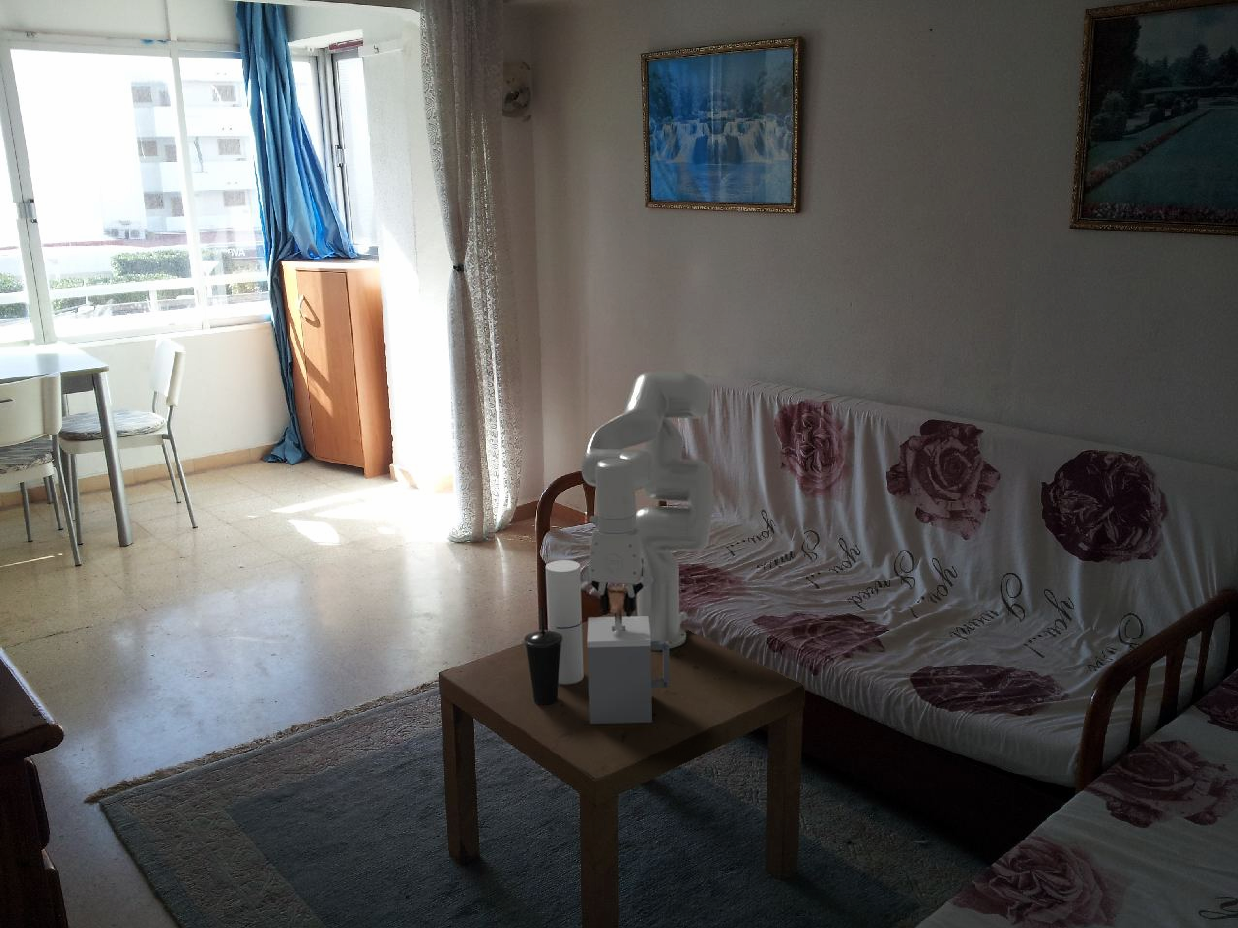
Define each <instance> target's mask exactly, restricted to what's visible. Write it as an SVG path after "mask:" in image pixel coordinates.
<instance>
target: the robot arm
mask: <svg viewBox="0 0 1238 928" xmlns="http://www.w3.org/2000/svg"><path fill="white" fill-rule="evenodd" d="M629 391H630V392H629V394H628V397H627V400H626V403H625V406H624V408H623V411H622V413H621V414H619V415H617V416H615V417H613V418H612V419H610V420H609V421H607V422H606V423H605V424H603V425H601V426H600V427H599V428H597V429H596V430H595V431H594V432H593V434H592V435H591V436H590V438H589V440H588V444H587V446H586V449H585V451H584V455H583V458H582V461H581V462H582V463H581V475H582V478H583V480H584V482H585V483H586V484H587V485H589V486H592V487H595V507H596V514H595V515H593V516H592V515H589V521H588V523H591V524H593V525H595V528H594V529H593V530H592V533H591V538H590V545H589V546H590V547H589V561H588V562H589V564H588V567H587V568H586V570H585V571H584V573H583V574H582V576H581V578H582V579H583V580H584V581H586V582H587V583H588V584H591V585H590V586H591V587H592V588H593V589H595V591H597V594H598V596H599V598H600V601H599V602H600V609H601V610H602V615H603V616H607V615H608V614H609V612H610V611H608V588H609V584H619V585H626V586H625V587H626V588H627V591H628V596H627V597H626V612H625V617H630V616H633V613H634V612H636V609H637V616H648V618H649V629H650V640H651V641H669V650H670V649H675V648H677V647H679V646H681V645H683V644H684V643H685V641H686V640H687V633H686V631H685V630H683V629H682V628H681V623H683V621H685V620H687V619H688V614H687V612H685V611H681V612H680V597H679V595H680V594H679V592H680V591H679V590H680V588H679V587H680V586H679V583H680V580H679V577H680V575H679V574H680V572H679V571H680V570H679V564H678V562H677V559H676V558H675V556H674V555H673V553H672V552H671V551H684V552H701V551H703V550H705V549H706V548H707V547H708V544H709V541H710V535H711V527H712V526H711V524H712V509H713V506H712V505H713V496H714V494H713V493H714V492H713V491H714V478H713V477H714V476H713V471H712V469H711V467H710V465H709V464H708V463H707V462H705V461H704V460H703V461H702V460H698V459H697V460H696V459H683V457H682V455H683V443H684V442H683V436H682V434H681V433H680V430H679V429H678V428H677V426H676V425H675V424H674V423H673V421H672V420H671V419H670V418H674V419H676V418H677V419H701V418H703V417H705V416H706V414H707V413H708V412H709V408H710V405H711V393H710V389H709V387H708V385H707V383H706V382H705V381H704V380H703V379H702V378H700V377H699V376H697V375H695V374H693V373H691V372H681V371H679V372H678V371H677V372H676V371H675V372H674V371H648V372H643V373H641V374H640V375H638V376H637V377H636V378H634V381H633V383H632V386H631V388H630V390H629ZM641 444H644V450H638V449H637V450H636V449H627V448H631V447H635V446H639V445H641ZM640 490H642V493H643V494H644V496H645V497H646V498H647V499H649V500H653V501H662V502H677V503H678V502H679V503H688V504H690V507H676V506H675V507H674V506H659V505H657V506H656V505H655V506H653V505H652V506H651V505H650V506H644V507H641V508H639V509H638V510H637V507H636V505H637V503H636V501H637V500H636V497H637V496H636V492H637V491H640ZM636 599H637V600H636Z"/></svg>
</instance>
